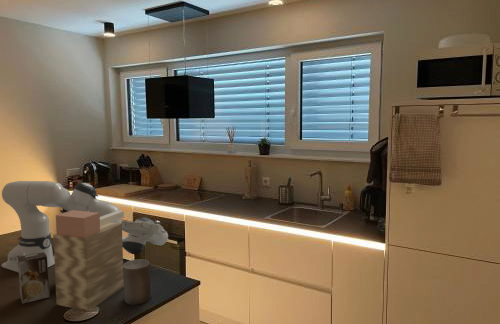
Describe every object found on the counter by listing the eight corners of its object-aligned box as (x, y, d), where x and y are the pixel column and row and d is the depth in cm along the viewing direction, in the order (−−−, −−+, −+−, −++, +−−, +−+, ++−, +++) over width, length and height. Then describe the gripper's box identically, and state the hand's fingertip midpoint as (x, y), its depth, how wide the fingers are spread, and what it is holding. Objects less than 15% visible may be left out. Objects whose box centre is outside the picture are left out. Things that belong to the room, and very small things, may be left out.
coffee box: (47, 291, 146) (45, 251, 144) (50, 297, 141) (48, 256, 139) (19, 297, 141) (17, 256, 139) (21, 304, 136) (19, 261, 134)
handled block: (56, 234, 133) (55, 215, 132) (108, 215, 160) (108, 199, 159) (84, 238, 129) (83, 218, 129) (133, 217, 156) (132, 201, 156)
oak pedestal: (56, 304, 135) (53, 234, 133) (94, 282, 154) (92, 220, 152) (88, 310, 131) (86, 238, 129) (123, 286, 150) (121, 223, 148)
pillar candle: (156, 296, 143) (155, 258, 141) (138, 307, 134) (137, 266, 133) (136, 291, 147) (135, 254, 146) (118, 301, 138) (116, 262, 137)
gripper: (165, 239, 175) (151, 232, 163) (127, 235, 181) (111, 228, 169) (169, 226, 177) (155, 218, 165) (131, 222, 183) (115, 214, 171)
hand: (133, 223), depth 167 cm, fingers open, 8 cm apart
